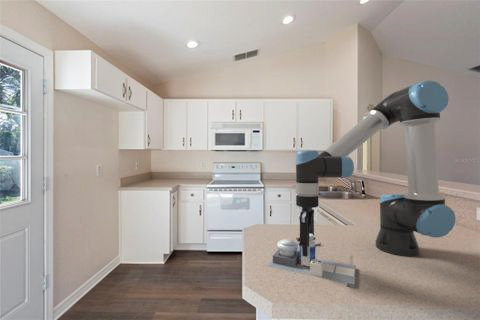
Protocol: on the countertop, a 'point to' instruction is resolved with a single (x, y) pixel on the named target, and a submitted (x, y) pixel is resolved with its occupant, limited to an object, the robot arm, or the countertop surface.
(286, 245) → the pop dome
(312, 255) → the pill bottle
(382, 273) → the countertop surface
